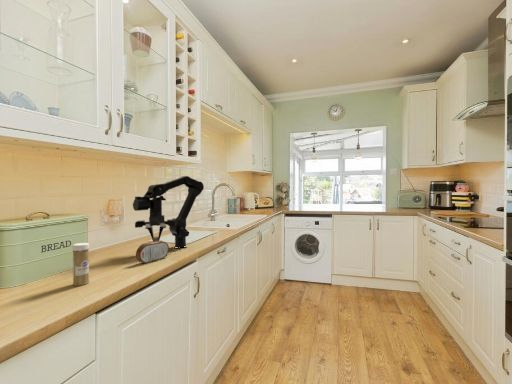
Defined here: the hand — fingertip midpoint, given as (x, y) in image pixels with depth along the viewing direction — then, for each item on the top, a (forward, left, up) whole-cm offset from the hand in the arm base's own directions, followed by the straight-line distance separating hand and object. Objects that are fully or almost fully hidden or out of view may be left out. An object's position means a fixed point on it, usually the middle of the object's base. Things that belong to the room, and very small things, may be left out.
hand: (156, 240), depth 128 cm
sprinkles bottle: (+39, -21, -6) cm, 44 cm away
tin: (+17, 0, -6) cm, 18 cm away
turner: (+3, 0, -1) cm, 3 cm away
